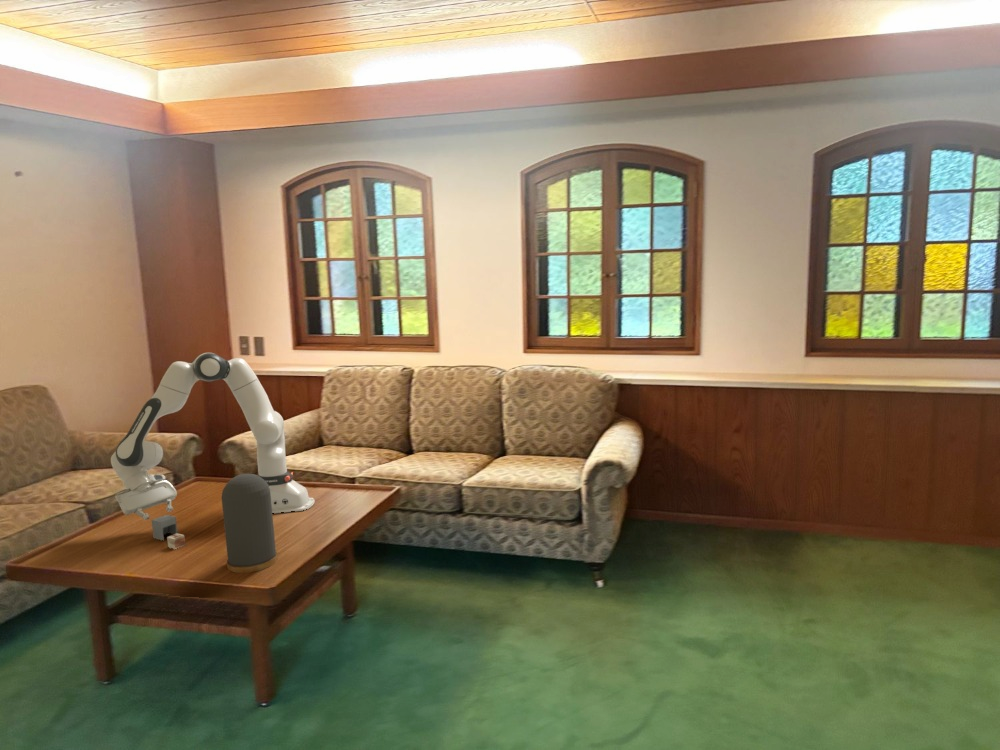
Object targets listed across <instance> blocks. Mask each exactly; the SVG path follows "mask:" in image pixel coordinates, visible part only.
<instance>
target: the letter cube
mask: <svg viewBox="0 0 1000 750" xmlns="http://www.w3.org/2000/svg"><path fill="white" fill-rule="evenodd" d="M185 538H186V537H185V535H184V534H181V533H179V532H178V533H177V534H170V535H169V536H167V537H166V539H167V548H168V547H169V548H168V549H171V548H173V549H172V550H175V549H176V550H178V549H180V548H179V547H181V548H183V547H186V539H185ZM182 546H183V547H182ZM177 548H178V549H177Z"/></svg>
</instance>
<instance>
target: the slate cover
mask: <svg viewBox="0 0 1000 750" xmlns="http://www.w3.org/2000/svg"><path fill="white" fill-rule="evenodd" d="M177 522H178V521H177V517H176V516H174V515H169V514H164V515H162V516H159V517H156V518H153V519H151V527H152V528H151V529H152V536H153V539H155V538H156V539H155V540H159V539H160V541H162V540H163V541H165V537H164V534H165V535H167V534H170V533H172V534H171V535H174V534H177V533H178V534H179V532H178V525H177V524H178V523H177ZM166 533H167V534H166Z"/></svg>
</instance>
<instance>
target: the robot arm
mask: <svg viewBox="0 0 1000 750" xmlns="http://www.w3.org/2000/svg"><path fill="white" fill-rule="evenodd" d="M219 380H223V381H224V382H225V383H226V384H227V386H228V388H229V389H230V391H231V393H232V395H233V396H234V398H235V400H236V401H237V403H238V405H239V406H240V408H241V410H242V412H243V415H244V417H245V419H246V422H247V424H248V427H249V428H250V431H251V433H252V434H253V437H254V438H255V440H256V459H257V471H258V474H257V475H258V476H260V477H261V478H262V479H264V480H265V482H266V483H267V484H268V485H269V488H270V493H271V504H272V513H274V514H282V513H281V512H284V513H292V512H291V511H295V512H304V511H306V509H307V510H308V509H310V508H311V507H313V505H314V504H315V501H316V500H315V498H314V497H310V496H309V493H308V489H307V488H306V487H305V486H304V485H302V484H301V483H299V482H298V481H295V480H294V479H293V475H294V474H293V473H294V472H293V471H292V472H289V470H288V469H287V466H288V465H287V458H286V455H287V454H286V437H285V421H284V418H283V416H282V415H281V414H280V412H278V411H276V410H274V408H273V406H272V403H271V400H270V399H269V396H268V394H267V392H266V390H265V388H264V387H263V385H262V384H261V382H260V380H259V378H258V376H257V374H256V373H255V372H254V370H253V369H252V366H250V365H249V363H248V362H247V361H246V360H245V359H244V358H240V357H236V358H234V357H233V358H232V359H231V358H230V359H229V360H226V359H225V358H223V357H221V356H220V355H218V354H216V353H213V352H204V353H202V354H200V355H198V356H197V357H196V358H195V359H193V360H192V361H191V362H187V361H181V360H180V361H178V360H177V361H174V362H172V363H171V364H170V365H169V367H168V368H167V370H166V372H165V373H164V374H163V376H162V379H161V380H160V383H159V384H158V387H157V389H156V391H155V392H154V394H153V395H152V397H150V399H148V400H147V401H146V402H145V404H144V405H143V407H142V408H141V409H140V411H139V413H138V415H137V416H136V418H135V420H134V421H133V424H132V425H131V427H130V428H129V430H128V432H127V433H126V435H125V436H124V437H123V438H122V439H121V441H119V443H118V444H117V446H116V449H115V451H114V452H113V454H112V455H111V457H110V464H111V467H112V469H113V471H114V472H115V474H116V476H117V477H118V479H120V480H121V481H122V484H123V486H124V488H125V489H124V490H122V491H119V492H117V493H116V494H115V498H114V499H115V500H116V502H117V503H118V505H119V507H120V509H121V511H122V513H123V514H124V515H126V516H130V515H133V514H136V515H137V516H138V517H141V518H142V519H143V521H147V520H149V519H150V515H149V513H148V512H146V513H145V512H144V511H143V510H146V509H149V508H153V507H156V506H159V505H162V504H165V505H167V506H166V508H165V510H166V511H167V512H168V513H169V512H173V510H174V507H173V506H172V501H174V500H175V499H176V498H177V496H178V495H177V494H178V491H177V489H176V488H175V486H173V484H172V483H171V482H170V481H169V480H168V479H167V480H166V476H165V475H164V474H151V473H150V474H149V473H148V471H150V470H152V469H153V468H155V467H156V466H157V465H159V464H160V463H161V462H162V460H163V458H164V449H163V446H162V445H161V444H160V443H158V442H155V441H149V440H146V438H147V437H148V434H149V433H150V431H151V429H152V428H153V425H154V424H155V423H156V421H157V420H158V419H160V418H161V417H163V416H166V415H170V414H174V413H177V412H179V411H180V410H181V409H183V407H184V406H185V405H186V403H187V401H188V398H189V396H190V395H191V392H192V391H191V390H192V389H193V386H194V385H195V383H197V382H199V381H203V382H213V381H219ZM303 510H304V511H303Z"/></svg>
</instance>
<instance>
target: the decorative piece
mask: <svg viewBox="0 0 1000 750" xmlns="http://www.w3.org/2000/svg"><path fill="white" fill-rule="evenodd" d="M221 506H222V513H223V514H222V515H223V517H222V518H223V526H224V527H223V528H224V534H225V535H224V536H225V544H226V555H227V560H226V565H227V566H226V567H227V570H229V571H230V572H233V573H241V574H242V573H253V572H259V571H261V570H265V569H267V568H270V567H271V566H273V565H275V562H276V561H277V562H278V560H277V559H279V558H278V556H279V555H278V552H277V551H276V550H277V549H276V541H275V539H276V538H275V529H274V518H273V514H272V504H271V493H270V488H269V485H268V484H267V483H266V482H265V480H264V479H262V478H261V477H260V476H258V474H255V473H254V474H253V473H241V474H238V475H236V476H234V477H232V478H231V479H230V480H229V481H227V483H225V486H224V487H223V488H222V492H221ZM277 562H276V563H277Z"/></svg>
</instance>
